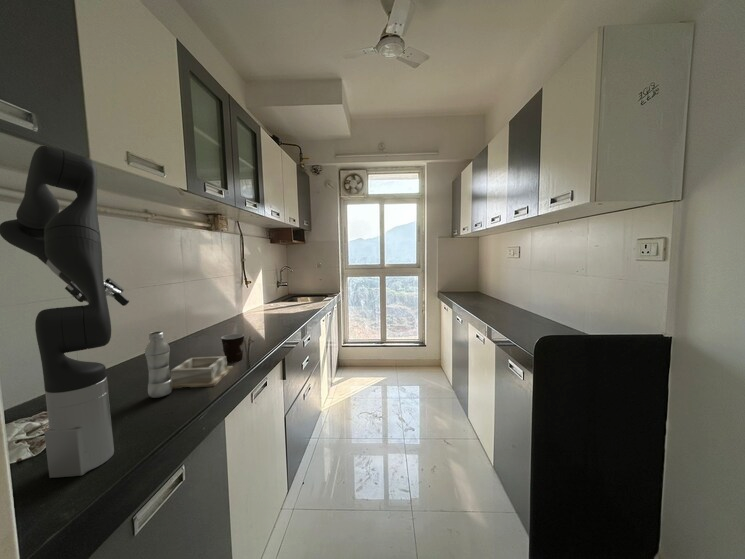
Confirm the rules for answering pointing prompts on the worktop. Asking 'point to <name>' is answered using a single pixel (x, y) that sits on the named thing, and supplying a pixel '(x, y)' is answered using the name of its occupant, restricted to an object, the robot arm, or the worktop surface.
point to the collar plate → (200, 372)
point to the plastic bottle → (158, 366)
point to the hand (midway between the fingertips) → (116, 306)
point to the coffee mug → (233, 347)
